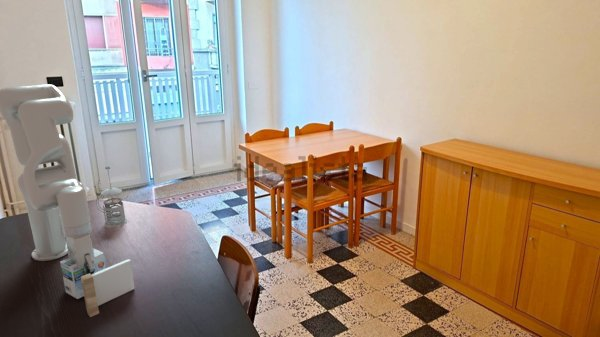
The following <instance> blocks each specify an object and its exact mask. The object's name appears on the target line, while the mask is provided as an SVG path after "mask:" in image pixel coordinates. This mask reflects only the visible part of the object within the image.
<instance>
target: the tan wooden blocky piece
mask: <svg viewBox="0 0 600 337" xmlns="http://www.w3.org/2000/svg"><path fill="white" fill-rule="evenodd" d="M81 281H82V287H83V292H84V296H83V297H84V301H85V308H86V313H87V315H88V316H89V317H90V318H92V317H94V316H97V315H99V314H100V310H99V306H98V303H97V298H96V292H95V286H94V281H93V276H92V275H91V274H90V273H89V274H87V275H84V276H81Z"/></svg>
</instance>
